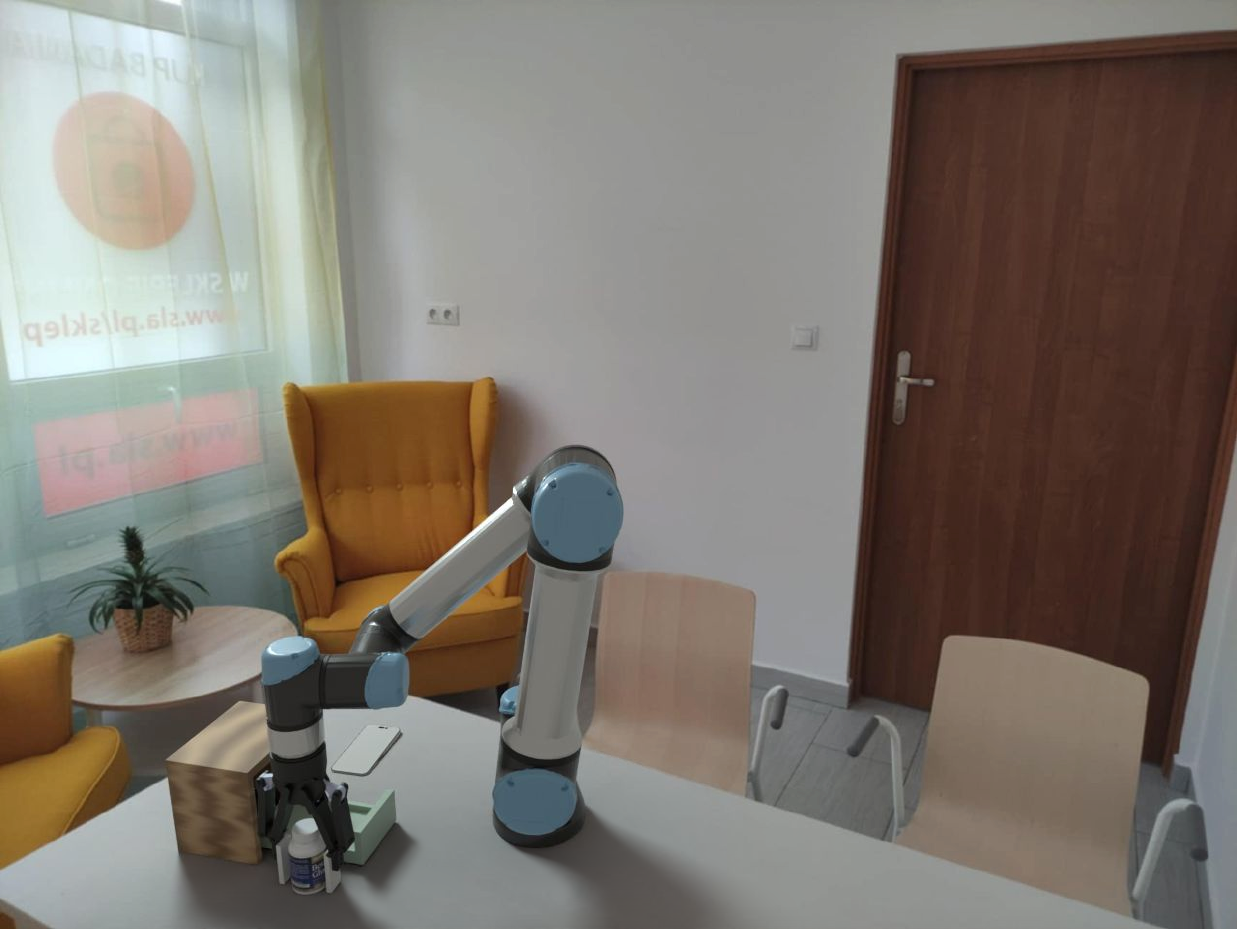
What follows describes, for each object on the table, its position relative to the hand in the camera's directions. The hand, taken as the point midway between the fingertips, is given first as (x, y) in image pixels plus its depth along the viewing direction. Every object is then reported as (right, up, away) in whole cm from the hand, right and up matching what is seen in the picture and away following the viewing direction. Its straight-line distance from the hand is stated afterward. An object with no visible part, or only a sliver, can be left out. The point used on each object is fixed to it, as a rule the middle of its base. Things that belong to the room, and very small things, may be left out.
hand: (310, 881), depth 134 cm
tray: (-1, +3, +11) cm, 11 cm away
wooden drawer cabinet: (-14, +3, +14) cm, 20 cm away
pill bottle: (0, 0, 0) cm, 0 cm away
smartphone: (-1, +8, +34) cm, 35 cm away
